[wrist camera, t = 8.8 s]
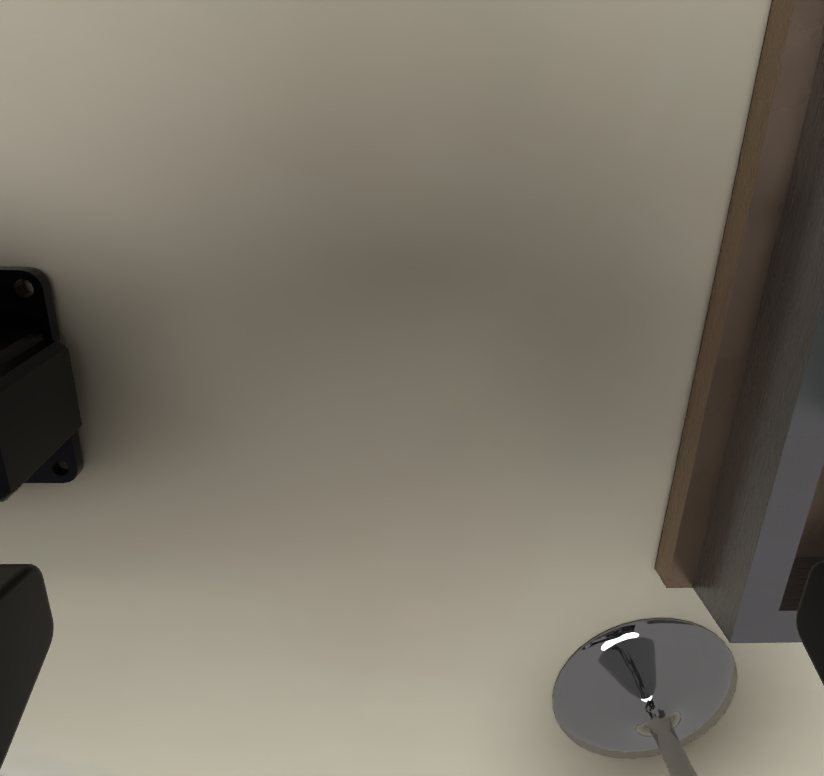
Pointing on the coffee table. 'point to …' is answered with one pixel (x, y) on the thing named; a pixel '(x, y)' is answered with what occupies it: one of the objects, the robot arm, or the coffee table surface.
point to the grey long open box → (761, 363)
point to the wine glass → (646, 690)
